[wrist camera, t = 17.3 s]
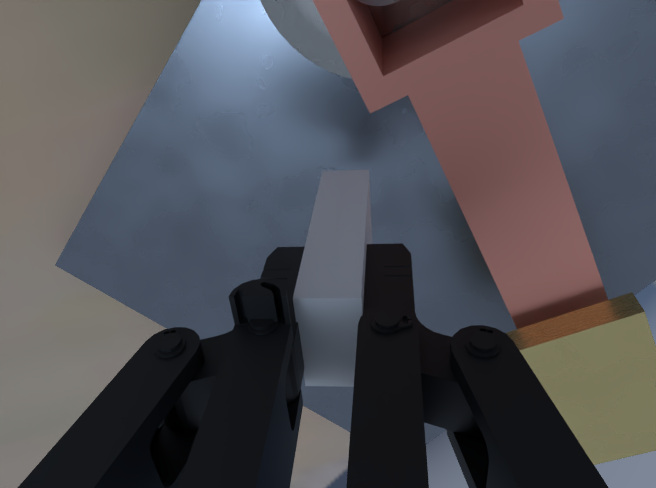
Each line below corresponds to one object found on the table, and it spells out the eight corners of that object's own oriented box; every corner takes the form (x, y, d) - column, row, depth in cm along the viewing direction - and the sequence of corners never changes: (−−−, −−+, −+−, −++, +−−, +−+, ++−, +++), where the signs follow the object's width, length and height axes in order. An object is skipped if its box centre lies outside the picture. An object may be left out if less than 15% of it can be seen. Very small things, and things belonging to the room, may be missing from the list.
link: (616, 278, 24) (666, 358, 20) (493, 318, 26) (516, 400, 22) (460, -194, 16) (489, -228, 12) (295, -87, 18) (270, -83, 13)
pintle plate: (440, -458, 14) (446, -488, 13) (899, 75, 20) (929, 85, 19) (57, 246, 27) (44, 260, 26) (401, 444, 33) (402, 463, 32)
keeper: (438, 245, 25) (459, 369, 19) (569, 194, 23) (644, 311, 17) (488, 343, 28) (522, 481, 22) (608, 305, 26) (686, 443, 20)
